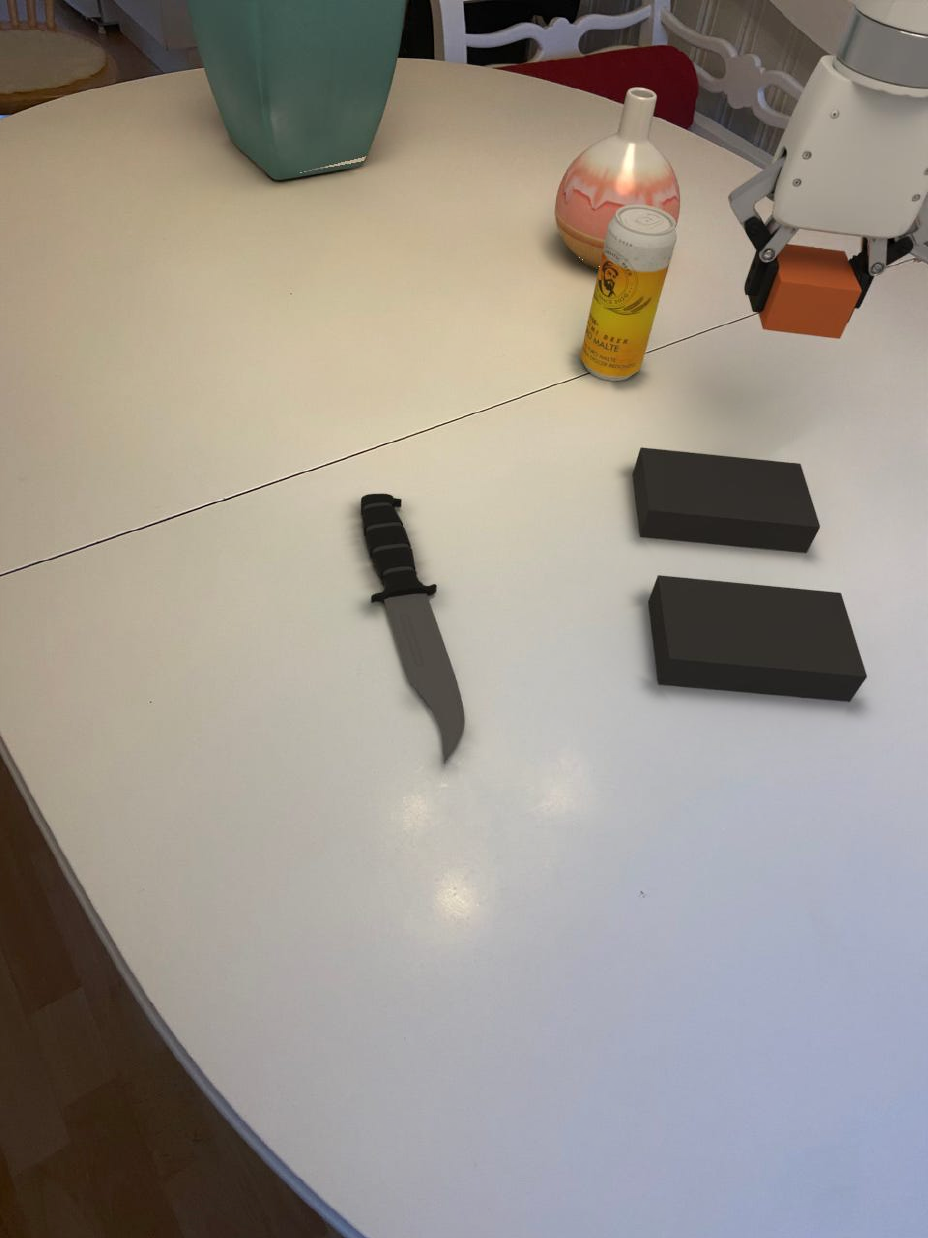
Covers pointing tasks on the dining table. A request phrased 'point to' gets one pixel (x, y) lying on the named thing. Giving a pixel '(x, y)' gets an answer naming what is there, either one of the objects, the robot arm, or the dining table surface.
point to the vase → (615, 180)
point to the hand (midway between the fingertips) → (797, 306)
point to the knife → (412, 615)
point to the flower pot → (299, 76)
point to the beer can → (627, 291)
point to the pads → (736, 612)
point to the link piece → (811, 292)
